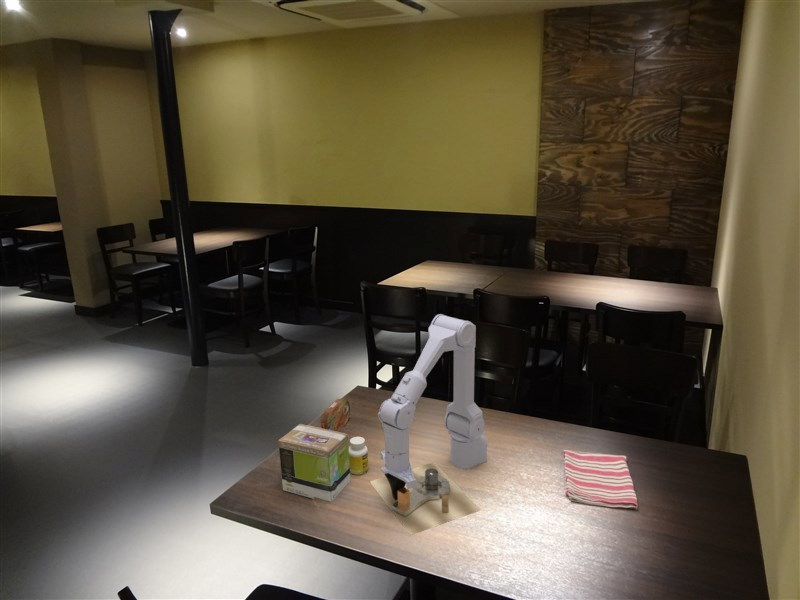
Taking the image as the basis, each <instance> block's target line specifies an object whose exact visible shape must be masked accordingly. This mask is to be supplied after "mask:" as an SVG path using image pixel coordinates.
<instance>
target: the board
mask: <svg viewBox="0 0 800 600" xmlns="http://www.w3.org/2000/svg"><path fill="white" fill-rule="evenodd" d="M431 468H432V469H436V470H437V471H438V475H439V476H442V477H444V478H446V479H447V481H449V484H450V491H449V494H447V495H448V496H449V512H448V513H443V512H442V498H441V497H439V499H433V500H427V501H426V502H424V503H423V504H422V505H420V506H419V507H417V508H416V509H415V510H413V511H412V512H411V513H409V514H408V515H407V516H403V515H402V514H400V513H398V512H396V511H395V510H393V509H391V505H392V504H394V503H395V502H397V501H398V500H396V501H395V499H394V498H393V496H392V490H391V487H390V484H389V481H388V479H387V478H386V476H383V477H380V478H376V479H373V480H370V481H369V482H370V484H371V485H372V487H373V488H374V489H375V490H376V492H377V493H378V495H379V497H380V498H382V500H383V502H385V504H386V505H387V507H388V508H389V509H390V511H392V513H393V514H394V516H395V517H396V518H397V520H398V521H399V522H400V524H401V525H402V526H403V528H404V530H406V532H407V534H409V536H413V535H415V534H418V533H421V532H424V531H425V530H428V529H429V530H430V529H432V528H434V527H437V526H441V525H443V524H446V523H449V522H451V521H455V520H458V519H460V518H463V517H465V516H468V515H471V514H474V513H477V512H480V511H482V509H481V508H480V507H479V506H478V505H477V503H475V502H474V500H472V499H471V498H470V497H469V496H468V495H467V494H466V493H465V491H463V490H462V489H461V488H460V487H459V486H458V485H457V483H455V482H454V481H453V480H452V479H451V478H450V477H449V476H448V475H447V474H446V473H445V472H444V471H443V470H442V469H441V467H439V466H438V465H437V464H436V463H435V462H429V463H427V464H423V465H420V466H416V467H414V468H411V469H412V473H413V476H414V478H415V479H418V478H419V477H421V476H423V477H424V475H425V471H426V470H427V469H431ZM405 488H406V489H408V488H407V487H406V485H405ZM422 488H423V489H425V484H424V485H423V486H422ZM440 488H441V485H439V484H438V490H439V489H440ZM408 490H410V492H411V491H412V490H414V488H410V489H408Z"/></svg>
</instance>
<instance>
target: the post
mask: <svg viewBox="0 0 800 600" xmlns="http://www.w3.org/2000/svg"><path fill="white" fill-rule="evenodd" d="M425 490H427V491H437V490H438V471H437V470H436V469H432V468H431V469H427V470H426V471H425Z"/></svg>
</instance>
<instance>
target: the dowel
mask: <svg viewBox="0 0 800 600" xmlns="http://www.w3.org/2000/svg"><path fill="white" fill-rule="evenodd" d="M442 512H443V513H448V512H449V496H448V495H442Z"/></svg>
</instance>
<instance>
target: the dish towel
mask: <svg viewBox="0 0 800 600" xmlns="http://www.w3.org/2000/svg"><path fill="white" fill-rule="evenodd" d="M562 451H563V466H564V478H565V479H564V480H565V484H564V493H565V498H566V499H567V500H568V501H570V502H576V503H580V504H585V505H591V506H601V507H608V508H624V509H625V508H626V509H627V508H628V509H634V510H638V508H639V507H638V505H639V503H638V498H637V495H636V491H635V488H634V486H635V485H634V482H633V479H632V477H631V474H630V470H629V467H628V463H627V460H628V459H627V458H628V457H627V455H622V454H621V455H617V454H608V453H598V452H587V451H585V452H584V451H576V450H571V449H563V450H562Z"/></svg>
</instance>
